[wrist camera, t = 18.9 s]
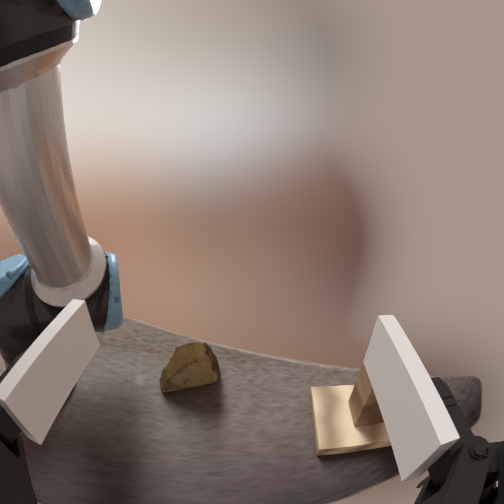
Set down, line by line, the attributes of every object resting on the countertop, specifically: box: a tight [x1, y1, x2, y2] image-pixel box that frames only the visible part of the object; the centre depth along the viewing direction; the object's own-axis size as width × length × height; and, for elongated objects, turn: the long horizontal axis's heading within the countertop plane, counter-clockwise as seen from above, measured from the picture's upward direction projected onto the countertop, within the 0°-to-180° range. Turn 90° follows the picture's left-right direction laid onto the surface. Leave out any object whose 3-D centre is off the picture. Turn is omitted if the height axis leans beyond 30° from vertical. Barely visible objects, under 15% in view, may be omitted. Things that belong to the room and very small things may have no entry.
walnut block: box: [348, 357, 384, 427], centre depth 33 cm, size 5×5×10 cm
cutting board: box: [310, 385, 391, 456], centre depth 35 cm, size 16×12×2 cm
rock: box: [160, 342, 220, 393], centre depth 43 cm, size 11×9×10 cm
